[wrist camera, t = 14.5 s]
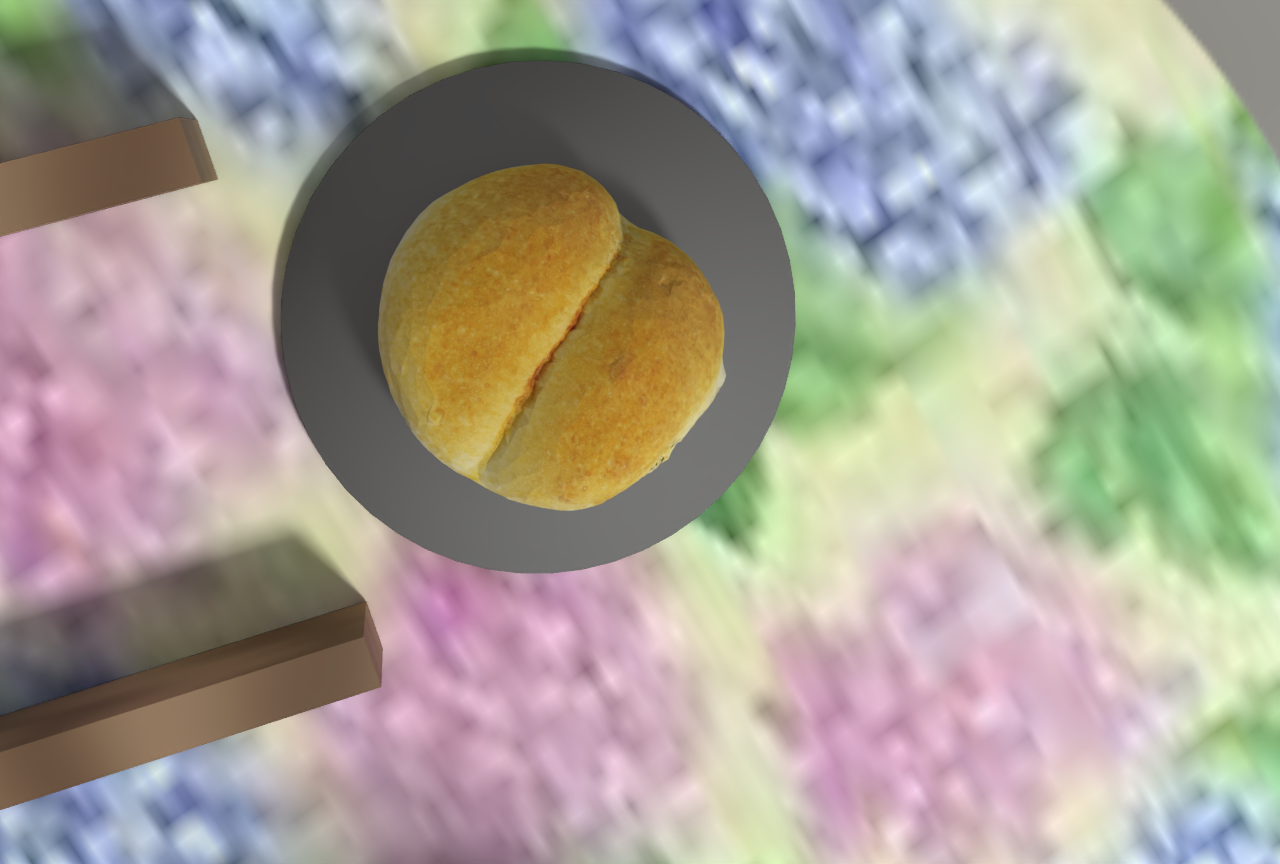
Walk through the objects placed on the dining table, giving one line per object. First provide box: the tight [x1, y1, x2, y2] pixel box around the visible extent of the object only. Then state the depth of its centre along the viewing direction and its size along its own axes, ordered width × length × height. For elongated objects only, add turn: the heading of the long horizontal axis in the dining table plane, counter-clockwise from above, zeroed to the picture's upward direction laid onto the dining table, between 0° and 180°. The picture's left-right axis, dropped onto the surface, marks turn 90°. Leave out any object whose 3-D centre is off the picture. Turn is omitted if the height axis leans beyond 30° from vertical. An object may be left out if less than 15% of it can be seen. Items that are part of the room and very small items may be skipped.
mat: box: [281, 60, 795, 573], centre depth 32 cm, size 14×14×1 cm
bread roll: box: [378, 164, 726, 511], centre depth 30 cm, size 8×9×4 cm
